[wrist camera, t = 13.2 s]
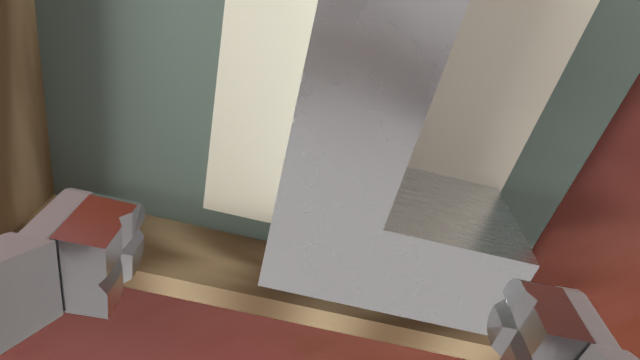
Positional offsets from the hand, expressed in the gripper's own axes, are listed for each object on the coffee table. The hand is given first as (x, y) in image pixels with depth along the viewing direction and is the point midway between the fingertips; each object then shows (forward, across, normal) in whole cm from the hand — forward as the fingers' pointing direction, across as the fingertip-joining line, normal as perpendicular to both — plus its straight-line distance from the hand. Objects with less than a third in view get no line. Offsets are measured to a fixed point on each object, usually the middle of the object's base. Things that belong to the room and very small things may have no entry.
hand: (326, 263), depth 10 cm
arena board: (+12, +1, +1) cm, 12 cm away
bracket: (+11, -4, +1) cm, 12 cm away
